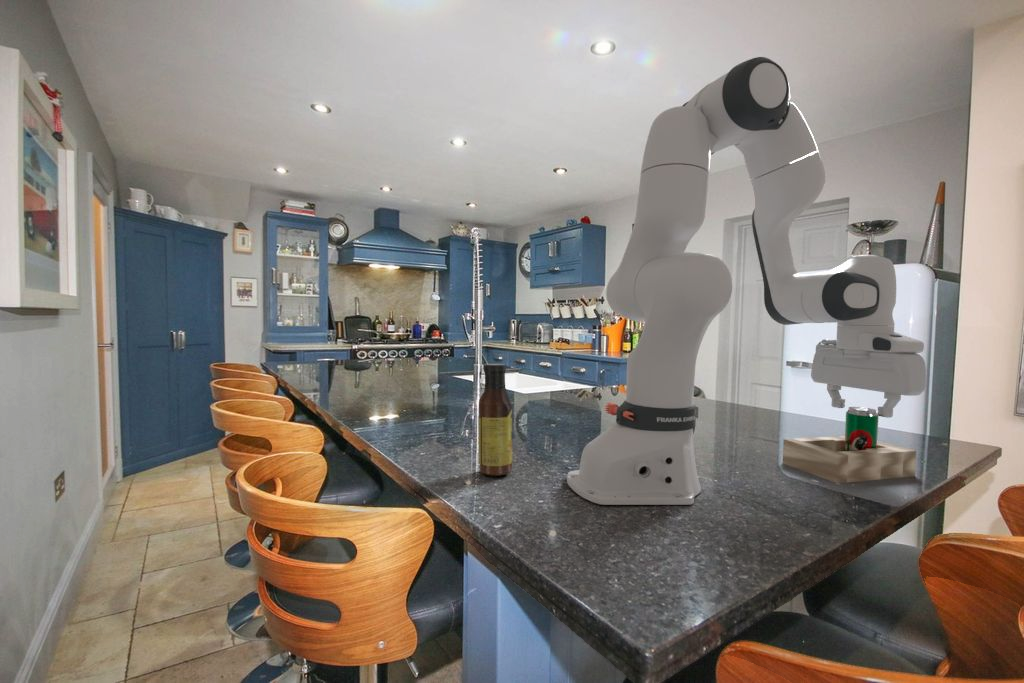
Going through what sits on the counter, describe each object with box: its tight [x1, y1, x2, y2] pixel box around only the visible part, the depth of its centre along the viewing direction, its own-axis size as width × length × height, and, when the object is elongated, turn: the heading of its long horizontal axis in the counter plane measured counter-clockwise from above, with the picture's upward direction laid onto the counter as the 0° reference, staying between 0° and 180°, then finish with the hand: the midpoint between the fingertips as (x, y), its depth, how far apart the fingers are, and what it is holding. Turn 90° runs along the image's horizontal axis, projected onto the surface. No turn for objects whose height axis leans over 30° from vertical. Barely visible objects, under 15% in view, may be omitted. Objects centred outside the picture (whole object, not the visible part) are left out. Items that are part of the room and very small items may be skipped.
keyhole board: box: [782, 435, 917, 484], centre depth 90 cm, size 18×12×5 cm, turn 104°
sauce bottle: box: [477, 363, 514, 477], centre depth 86 cm, size 6×6×20 cm
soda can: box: [844, 406, 880, 451], centre depth 90 cm, size 5×5×12 cm
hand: (860, 411), depth 91 cm, fingers open, 8 cm apart
